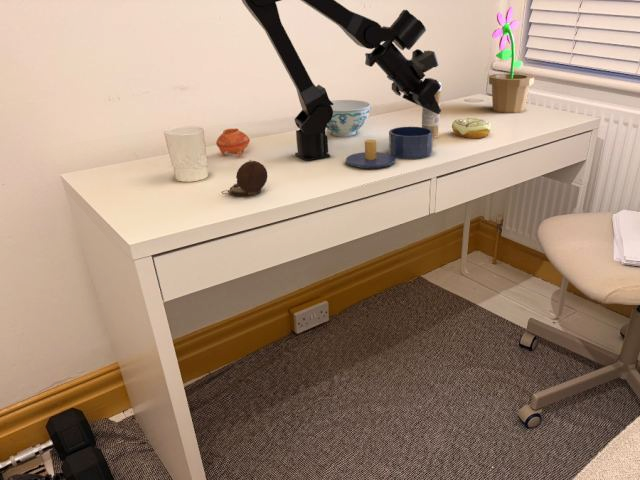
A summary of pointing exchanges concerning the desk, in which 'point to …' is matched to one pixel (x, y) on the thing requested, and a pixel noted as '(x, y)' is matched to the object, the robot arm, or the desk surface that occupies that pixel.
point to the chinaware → (348, 116)
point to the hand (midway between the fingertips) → (435, 111)
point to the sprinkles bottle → (432, 117)
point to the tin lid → (370, 157)
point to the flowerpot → (510, 87)
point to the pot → (232, 141)
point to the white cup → (187, 152)
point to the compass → (249, 179)
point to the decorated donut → (471, 127)
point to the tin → (410, 142)
